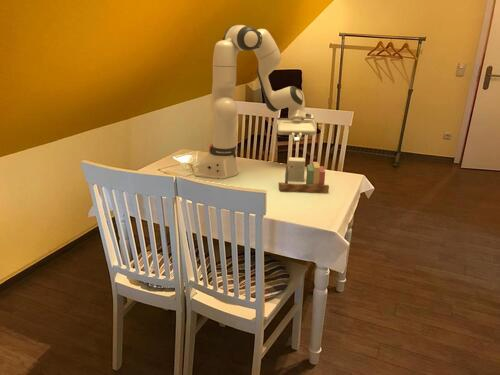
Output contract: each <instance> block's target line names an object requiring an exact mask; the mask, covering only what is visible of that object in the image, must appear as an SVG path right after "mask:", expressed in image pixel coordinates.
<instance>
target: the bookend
mask: <svg viewBox="0 0 500 375" xmlns="http://www.w3.org/2000/svg"><path fill="white" fill-rule="evenodd" d="M280 183H281V182H278V191H280ZM284 183H289V181H288V165H285V174H284Z"/></svg>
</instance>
